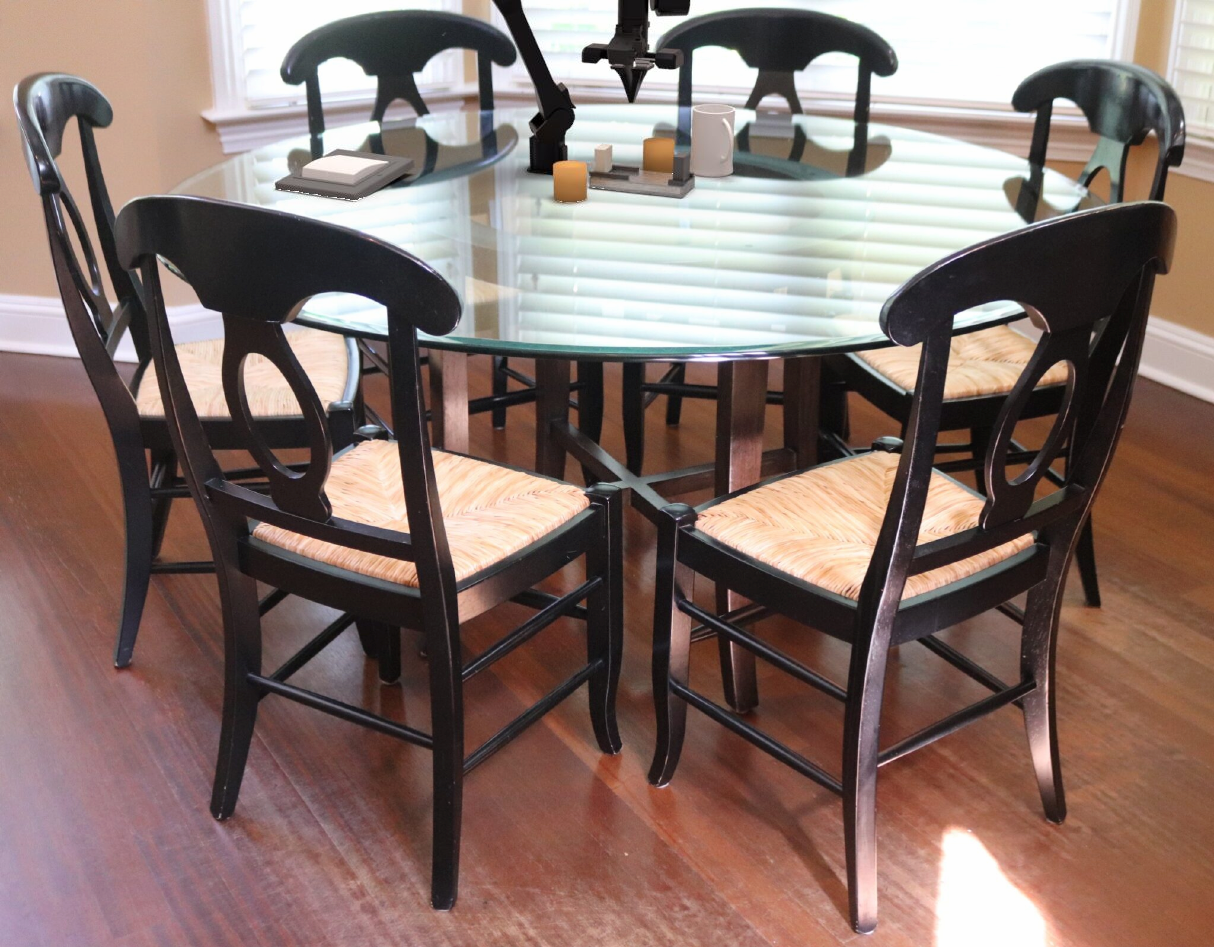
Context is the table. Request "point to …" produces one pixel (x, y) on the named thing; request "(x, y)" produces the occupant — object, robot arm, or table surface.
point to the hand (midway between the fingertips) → (631, 102)
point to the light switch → (346, 174)
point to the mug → (712, 140)
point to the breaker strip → (641, 181)
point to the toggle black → (681, 166)
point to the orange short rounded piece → (658, 154)
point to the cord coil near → (570, 181)
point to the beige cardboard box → (603, 158)
